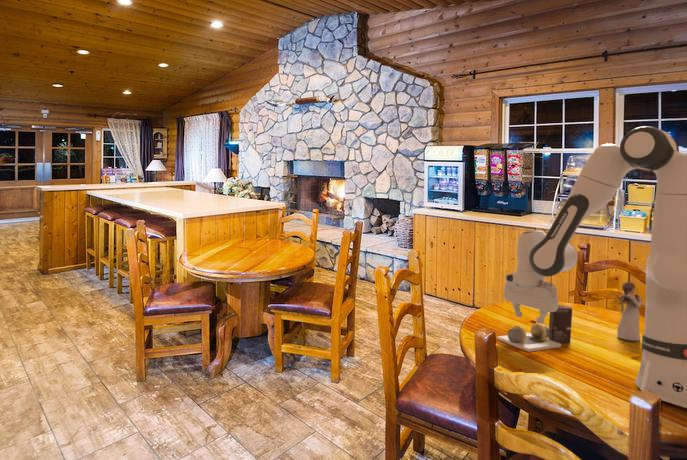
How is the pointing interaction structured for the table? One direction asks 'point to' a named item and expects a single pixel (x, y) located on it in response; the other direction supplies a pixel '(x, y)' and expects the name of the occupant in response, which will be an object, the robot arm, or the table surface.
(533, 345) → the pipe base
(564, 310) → the box
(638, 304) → the figurine
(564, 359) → the table surface
